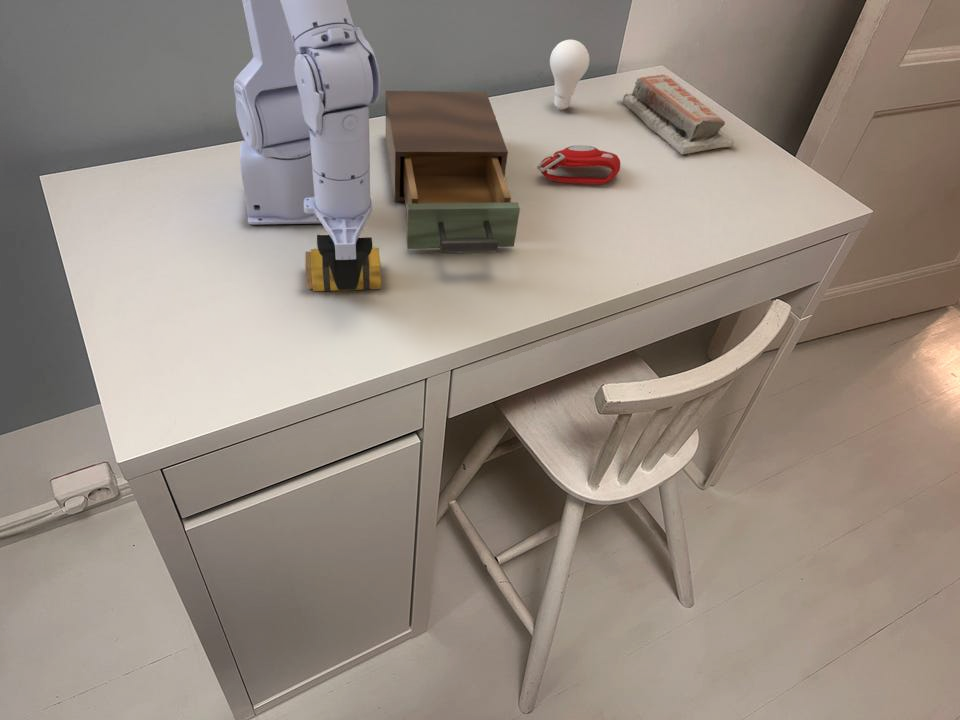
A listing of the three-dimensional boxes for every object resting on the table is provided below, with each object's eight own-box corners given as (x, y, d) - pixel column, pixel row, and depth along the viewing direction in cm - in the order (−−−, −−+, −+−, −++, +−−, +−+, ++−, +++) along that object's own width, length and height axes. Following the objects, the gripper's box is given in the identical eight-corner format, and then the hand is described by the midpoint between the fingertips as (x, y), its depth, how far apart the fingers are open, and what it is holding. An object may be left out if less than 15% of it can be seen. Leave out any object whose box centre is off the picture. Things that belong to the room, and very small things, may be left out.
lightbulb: (539, 99, 120) (550, 32, 112) (575, 101, 121) (588, 34, 113) (545, 117, 116) (557, 48, 108) (582, 118, 117) (596, 50, 109)
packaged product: (626, 74, 119) (675, 69, 122) (619, 102, 122) (667, 96, 126) (690, 127, 108) (743, 119, 111) (681, 157, 111) (732, 148, 115)
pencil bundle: (378, 270, 85) (378, 245, 83) (380, 289, 83) (380, 265, 80) (307, 272, 84) (305, 247, 81) (307, 292, 82) (304, 267, 79)
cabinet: (501, 200, 98) (508, 151, 93) (394, 202, 95) (395, 151, 90) (481, 139, 109) (486, 92, 104) (385, 138, 107) (385, 90, 101)
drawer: (522, 272, 86) (528, 233, 82) (411, 275, 84) (412, 235, 80) (492, 178, 100) (497, 141, 96) (396, 179, 98) (397, 140, 94)
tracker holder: (563, 139, 109) (628, 144, 105) (562, 169, 111) (626, 175, 107) (531, 154, 100) (600, 160, 95) (530, 186, 102) (598, 194, 98)
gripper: (300, 128, 77) (309, 233, 87) (299, 207, 67) (310, 315, 77) (367, 129, 78) (369, 232, 88) (376, 206, 68) (377, 312, 78)
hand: (346, 271), depth 83 cm, fingers open, 5 cm apart
